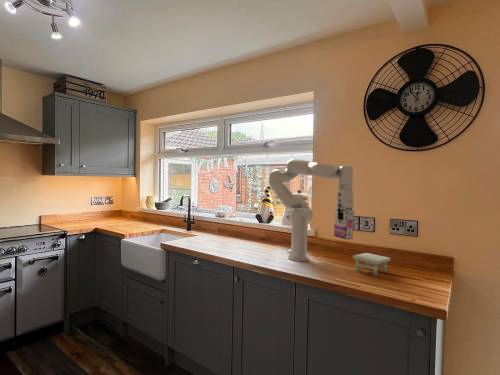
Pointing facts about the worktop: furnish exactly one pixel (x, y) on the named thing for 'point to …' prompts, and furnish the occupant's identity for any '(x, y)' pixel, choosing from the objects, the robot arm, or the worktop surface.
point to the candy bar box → (344, 224)
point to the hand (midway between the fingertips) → (343, 219)
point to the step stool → (371, 262)
